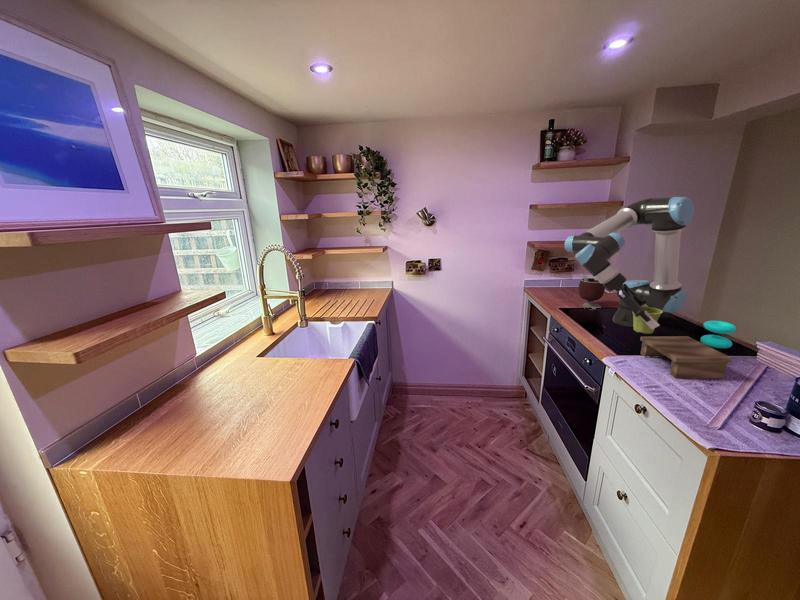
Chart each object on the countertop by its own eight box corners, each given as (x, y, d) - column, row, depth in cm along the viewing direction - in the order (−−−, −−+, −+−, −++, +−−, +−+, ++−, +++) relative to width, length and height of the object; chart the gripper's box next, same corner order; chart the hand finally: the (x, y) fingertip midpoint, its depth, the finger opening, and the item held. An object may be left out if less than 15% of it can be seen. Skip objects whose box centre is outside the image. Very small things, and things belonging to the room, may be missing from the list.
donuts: (698, 319, 141) (725, 319, 138) (694, 339, 144) (720, 340, 141) (714, 327, 132) (743, 328, 129) (709, 348, 134) (737, 350, 132)
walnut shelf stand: (637, 353, 133) (640, 336, 131) (683, 353, 131) (687, 336, 129) (672, 378, 114) (676, 358, 112) (726, 378, 112) (731, 358, 110)
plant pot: (622, 327, 125) (625, 306, 122) (647, 326, 124) (650, 305, 122) (638, 336, 116) (642, 314, 113) (665, 335, 115) (669, 313, 113)
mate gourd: (607, 307, 194) (611, 275, 188) (591, 311, 189) (595, 278, 183) (584, 301, 207) (588, 272, 202) (569, 304, 202) (572, 274, 197)
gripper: (604, 278, 133) (645, 319, 128) (598, 290, 116) (645, 338, 111) (620, 267, 128) (664, 308, 123) (617, 278, 111) (667, 326, 106)
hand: (655, 322), depth 117 cm, fingers closed on plant pot, 9 cm apart
